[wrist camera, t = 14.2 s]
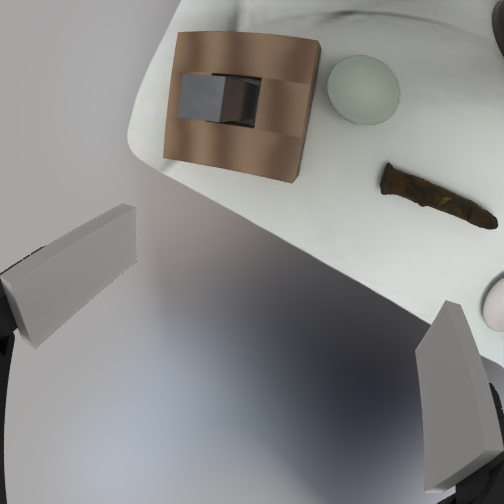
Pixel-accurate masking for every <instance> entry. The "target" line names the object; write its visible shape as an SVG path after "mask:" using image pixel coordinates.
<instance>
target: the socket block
mask: <svg viewBox="0 0 504 504" xmlns="http://www.w3.org/2000/svg"><path fill="white" fill-rule="evenodd" d="M320 54H321V47H320V45H319V42H318V41H317V40H311V39H304V38H297V37H290V36H281V35H272V34H261V33H247V32H221V31H198V32H178V36H177V42H176V48H175V55H174V61H173V68H172V76H171V83H170V91H169V100H168V109H167V119H166V130H165V142H164V155H163V158H166V159H172V160H179V161H184V162H190V163H196V164H202V165H207V166H212V167H218V168H223V169H228V170H233V171H238V172H243V173H248V174H252V175H257V176H262V177H266V178H271V179H275V180H279V181H284V182H288V183H293V182H294V181H295V179H296V178H297V177H298V174H299V169H300V164H301V159H302V154H303V148H304V143H305V138H306V133H307V127H308V122H309V117H310V111H311V106H312V100H313V95H314V89H315V83H316V77H317V72H318V66H319V60H320ZM183 74H188V75H209V76H223V77H226V76H228V77H239V78H248V79H257V80H262V82H261V88H260V94H259V101H258V107H257V113H256V120H255V125H251V124H245V123H238V122H231V121H226V122H213V121H205V120H197V119H188V118H178V110H179V101H180V93H181V85H182V77H183Z"/></svg>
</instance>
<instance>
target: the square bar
mask: <svg viewBox="0 0 504 504" xmlns="http://www.w3.org/2000/svg"><path fill="white" fill-rule="evenodd" d="M260 88H261V86H258V85H254V84H251V83H247V82H244V81H240V80H236V79H233V78H229V77H223V76H209V75H188V74H183V77H182V85H181V93H180V101H179V110H178V118H188V119H197V120H205V121H213V122H226V121H236V120H247V119H256V113H257V107H258V101H259V94H260Z"/></svg>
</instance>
